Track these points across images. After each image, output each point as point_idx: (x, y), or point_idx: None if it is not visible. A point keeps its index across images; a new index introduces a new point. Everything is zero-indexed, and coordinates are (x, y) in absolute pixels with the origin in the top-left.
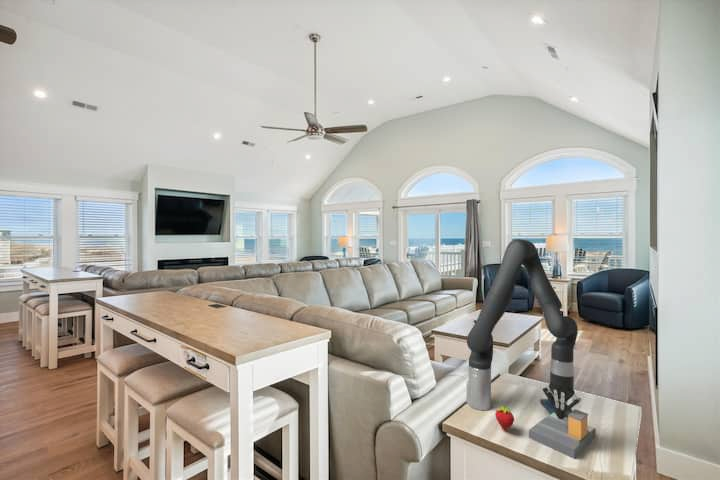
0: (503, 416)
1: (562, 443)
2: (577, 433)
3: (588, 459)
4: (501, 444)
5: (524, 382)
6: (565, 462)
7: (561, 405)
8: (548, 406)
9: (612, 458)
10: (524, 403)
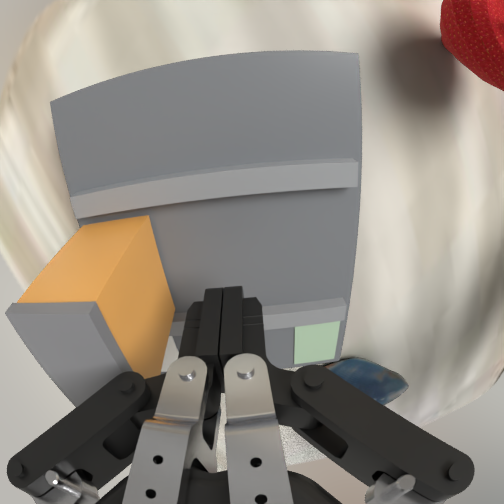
0: None
1: (114, 89)
2: (84, 240)
3: (49, 160)
4: None
5: (445, 407)
6: (85, 30)
7: (191, 399)
8: (368, 378)
9: (34, 256)
10: (444, 337)
